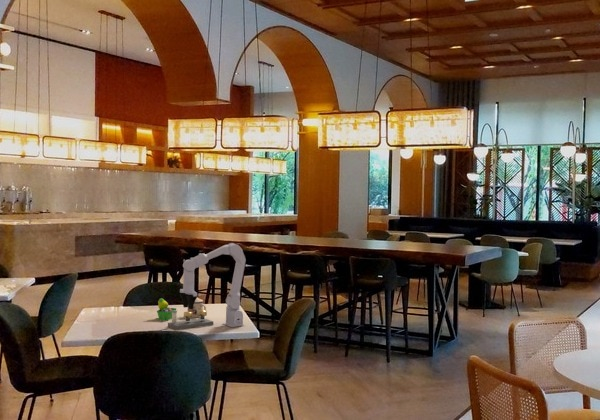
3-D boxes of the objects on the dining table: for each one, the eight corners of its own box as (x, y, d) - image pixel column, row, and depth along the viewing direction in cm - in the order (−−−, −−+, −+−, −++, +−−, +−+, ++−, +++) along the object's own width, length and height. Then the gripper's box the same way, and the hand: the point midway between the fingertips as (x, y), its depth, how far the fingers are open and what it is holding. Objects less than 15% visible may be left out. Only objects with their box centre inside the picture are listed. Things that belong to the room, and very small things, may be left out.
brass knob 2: (208, 319, 359) (208, 311, 359) (201, 320, 356) (201, 311, 356) (203, 317, 362) (203, 309, 362) (196, 318, 360) (196, 310, 359)
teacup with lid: (183, 316, 380) (184, 296, 380) (193, 314, 388) (194, 294, 388) (200, 319, 375) (201, 298, 374) (210, 316, 383) (210, 296, 382)
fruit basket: (168, 321, 367) (169, 300, 366) (153, 320, 368) (154, 299, 368) (176, 317, 378) (177, 297, 377) (162, 316, 380) (162, 296, 379)
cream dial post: (177, 323, 351) (178, 310, 351) (173, 324, 350) (173, 311, 349) (175, 322, 354) (175, 310, 353) (170, 323, 352) (170, 310, 352)
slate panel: (213, 325, 359) (213, 321, 359) (177, 329, 345) (177, 326, 345) (203, 321, 367) (203, 318, 367) (167, 326, 353) (167, 322, 353)
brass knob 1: (193, 320, 353) (193, 312, 353) (186, 321, 350) (186, 313, 350) (189, 319, 357) (189, 311, 356) (182, 320, 354) (182, 312, 354)
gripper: (175, 281, 356) (174, 306, 356) (189, 284, 345) (188, 311, 345) (186, 280, 360) (186, 305, 361) (200, 283, 349) (200, 309, 350)
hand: (188, 308), depth 353 cm, fingers open, 5 cm apart
